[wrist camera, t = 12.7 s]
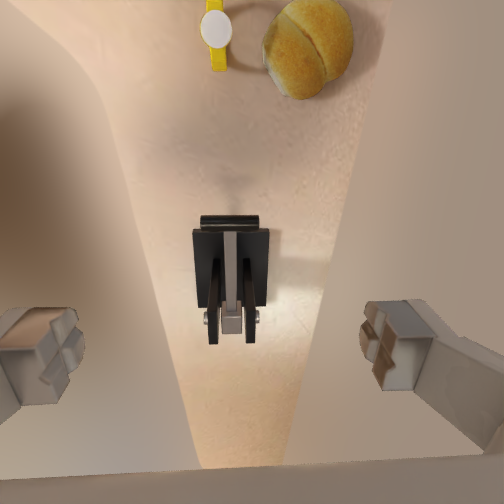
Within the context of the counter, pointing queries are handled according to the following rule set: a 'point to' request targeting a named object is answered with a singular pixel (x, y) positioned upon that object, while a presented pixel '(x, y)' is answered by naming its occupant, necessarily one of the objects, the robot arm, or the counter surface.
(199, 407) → the counter surface
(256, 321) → the bracket
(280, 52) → the bread roll
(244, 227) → the lever
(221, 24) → the watch
